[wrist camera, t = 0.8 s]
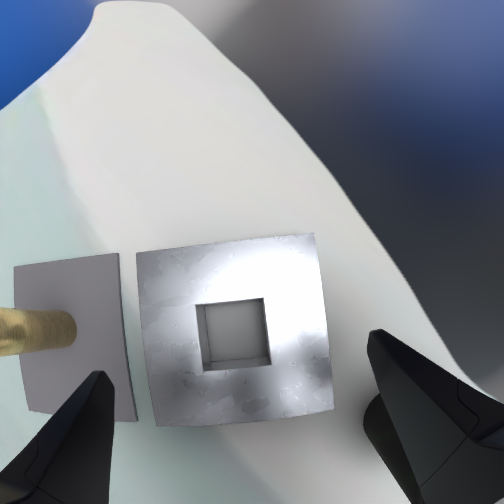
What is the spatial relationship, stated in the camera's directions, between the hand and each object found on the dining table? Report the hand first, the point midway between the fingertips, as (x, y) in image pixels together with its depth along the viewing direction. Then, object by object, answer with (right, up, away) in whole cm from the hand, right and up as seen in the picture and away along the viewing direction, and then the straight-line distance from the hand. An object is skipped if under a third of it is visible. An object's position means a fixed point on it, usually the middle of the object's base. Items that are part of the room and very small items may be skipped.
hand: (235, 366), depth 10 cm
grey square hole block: (-1, -2, +14) cm, 14 cm away
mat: (-16, -4, +14) cm, 21 cm away
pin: (-16, -3, +13) cm, 21 cm away
